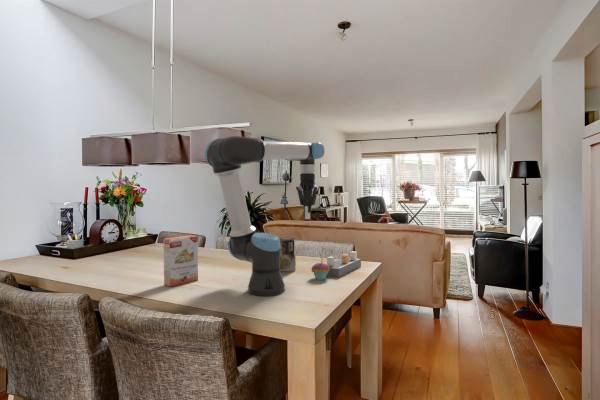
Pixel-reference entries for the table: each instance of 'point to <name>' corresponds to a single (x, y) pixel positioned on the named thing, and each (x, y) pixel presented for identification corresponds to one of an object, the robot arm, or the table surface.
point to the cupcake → (320, 270)
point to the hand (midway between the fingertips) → (307, 218)
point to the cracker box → (180, 260)
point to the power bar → (343, 267)
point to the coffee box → (287, 254)
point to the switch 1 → (330, 261)
